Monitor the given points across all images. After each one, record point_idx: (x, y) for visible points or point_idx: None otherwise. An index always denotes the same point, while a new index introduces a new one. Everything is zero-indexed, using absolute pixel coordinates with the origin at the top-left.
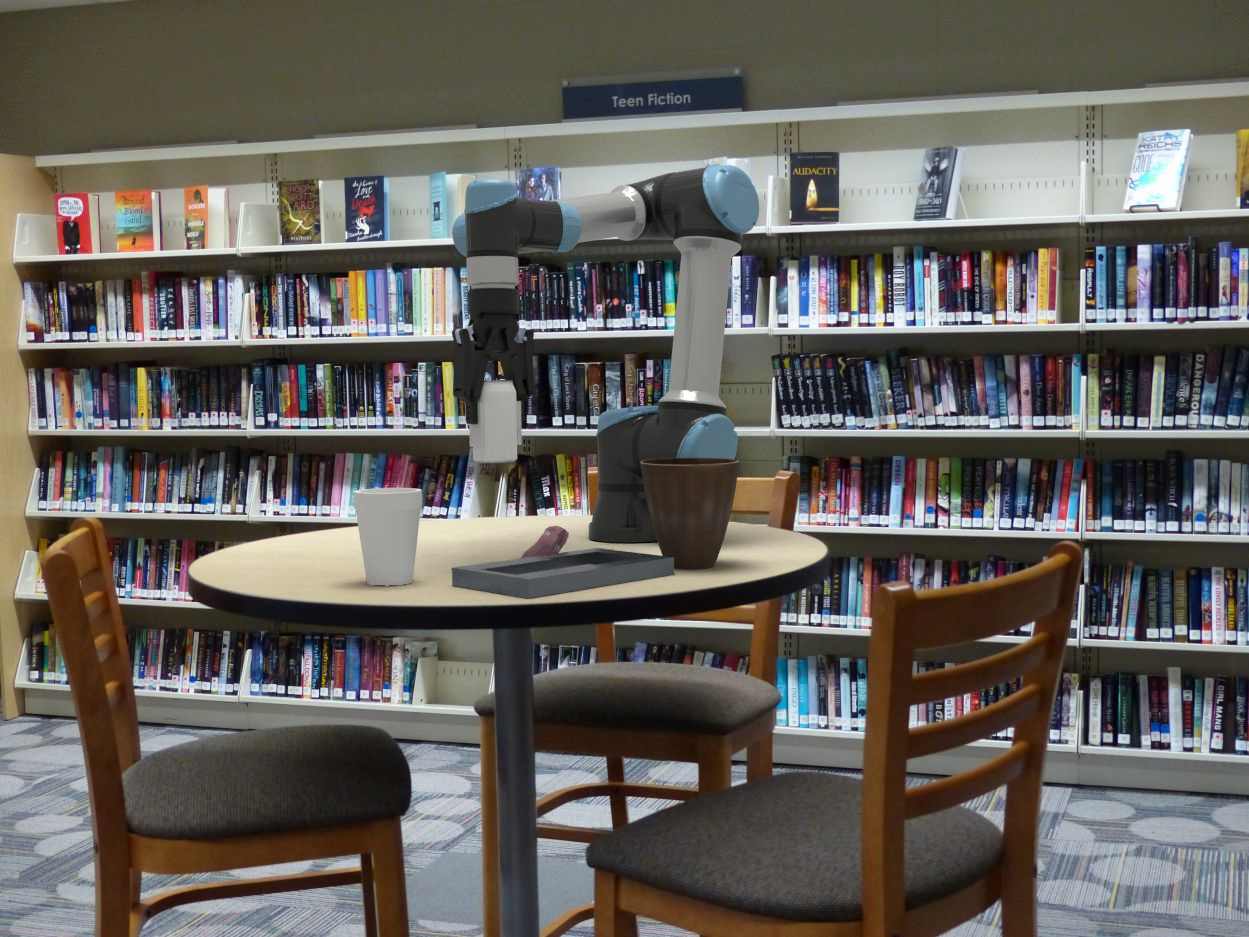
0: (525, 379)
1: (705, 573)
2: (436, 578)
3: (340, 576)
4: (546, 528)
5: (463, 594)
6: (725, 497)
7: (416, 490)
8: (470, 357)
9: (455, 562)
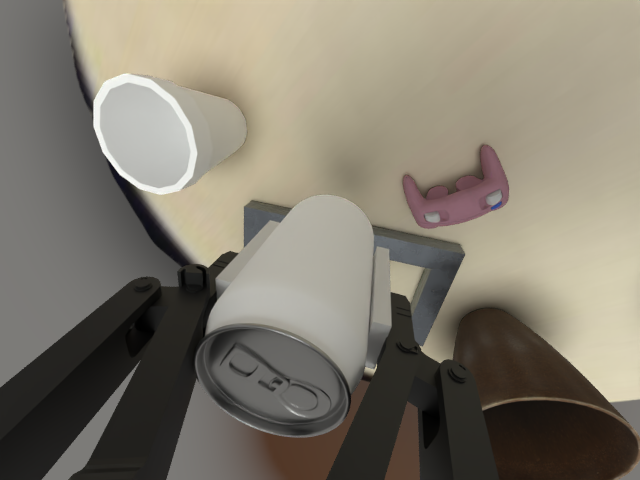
0: (426, 450)
1: (439, 351)
2: (275, 150)
3: (209, 19)
4: (458, 200)
5: (229, 237)
6: (493, 431)
7: (188, 166)
8: (42, 472)
9: (397, 59)
